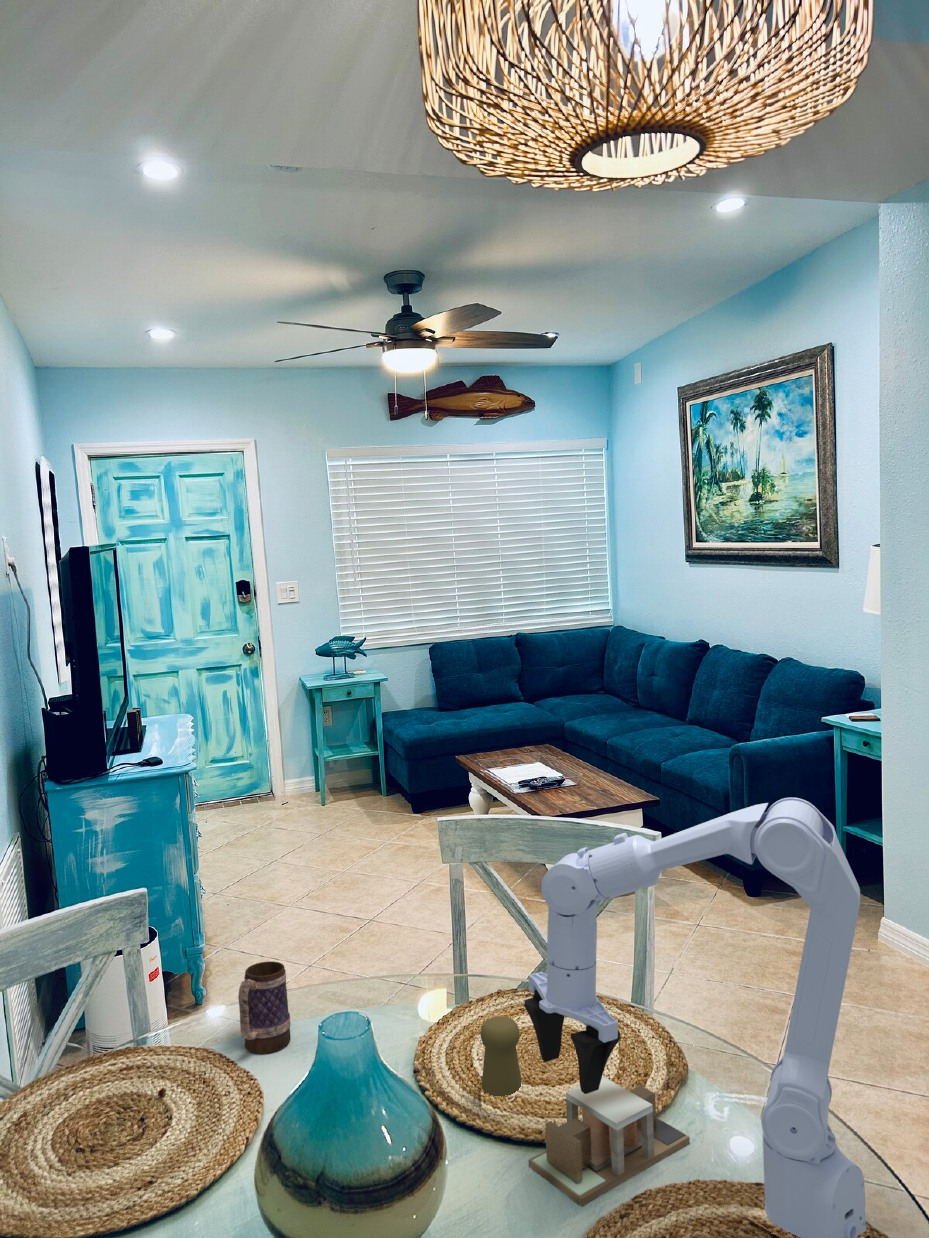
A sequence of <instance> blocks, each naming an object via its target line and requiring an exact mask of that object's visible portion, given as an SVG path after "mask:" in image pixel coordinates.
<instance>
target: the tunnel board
mask: <svg viewBox="0 0 929 1238" xmlns="http://www.w3.org/2000/svg"><path fill="white" fill-rule="evenodd" d="M565 1105H566V1106H565V1107H566V1108H565V1109H566V1122H568V1121H570V1120H572V1119H574V1118H578V1119H579V1108H580V1109H581V1110H582V1109H583V1110H585V1111H586V1112H588V1113H590V1114H591V1115H593V1116H594V1117H596V1118H598V1119H599V1120H601V1121H602V1122H604V1123H606V1124H607V1125H609V1126H610V1128H611V1156H612V1163H610V1164H608V1165H606V1166H604V1167H603V1168H601V1169H599V1170H597V1171H596V1170H595V1169H593V1168H592V1167H590V1166H588V1167H586V1168H584V1169H582V1178H583V1180H582V1181H580V1182H579V1183H576V1182H575V1181H574V1180H572V1179H571V1178H570V1177H568V1176H567V1175H565V1174H564V1173H563V1172H561V1171H560V1170H559V1169H557V1168H556V1167H554V1166H553V1165H552V1164H550V1163H549V1162H548V1161H547V1156H546V1150H544V1151H542V1152H540V1153H539V1154H537V1155H534V1156H532V1157H531V1158H529V1159H528V1167H529V1168H530V1169H532V1170H533V1171H535V1172H536V1173H537V1174H538V1175H540V1177H542V1178H544V1179H545V1180H546V1181H548V1183H550V1184H551V1185H553V1186H554V1187H555V1188H557V1189H558V1190H559V1191H560V1192H562V1193H563V1194H565V1195H566V1196H567V1197H569V1198H570V1199H571V1200H572V1201H574V1202H575V1203H576V1204H578V1205H579V1206H581V1207H583V1206H585V1205H586V1204H588V1203H590V1202H592V1201H594V1200H595V1199H596V1198H599V1197H600V1196H602V1195H604V1194H605V1193H608V1191H611V1190H612V1189H614V1188H616V1187H617V1186H619V1185H621V1184H623V1183H624V1182H626V1181H628V1180H629V1179H631V1178H633V1177H635V1176H636V1175H638V1174H640V1173H641V1172H643V1171H644V1170H647V1169H649V1168H650V1167H651V1166H654V1165H655V1164H658V1163H659V1162H660V1161H662V1160H664V1159H666V1158H667V1157H669V1156H670V1155H672V1154H674V1153H675V1152H677V1151H679V1150H681V1149H682V1148H684V1147H686V1146H688V1145H690V1144H691V1140H690V1139H691V1137H690V1136H689V1135H688V1134H685V1133H684V1132H683V1131H680V1130H679V1129H677V1128H676V1127H673V1126H672V1125H671V1124H668V1123H666V1122H665V1121H663V1120H662V1119H660V1118H659V1117H657V1116H656V1129H655V1130H653V1105H652V1104H651V1103H649V1102H647V1101H645V1100H644V1099H642V1098H640V1097H638V1096H637V1095H635V1094H633V1093H631V1092H630V1090H627V1089H626V1088H624V1087H622V1086H621V1085H619V1084H617V1083H616V1082H614V1081H612V1080H610V1079H609V1078H607V1077H605V1076H603V1075H602V1079H601V1082H600V1086H599V1089H598V1090H596V1091H593V1092H591V1093H588V1094H584V1093H583V1092H582V1091H581V1088H580V1085H578V1086H576V1087H574V1088H572V1089H570V1090H568V1091H565ZM639 1118H641V1137H642V1146H640V1147H638V1148H637V1149H635V1150H633V1151H631V1152H629V1153H628V1154H626V1155H624V1143H623V1127H624V1126H626V1125H628V1124H630V1123H632V1122H634V1121H636V1120H638V1119H639Z"/></svg>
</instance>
